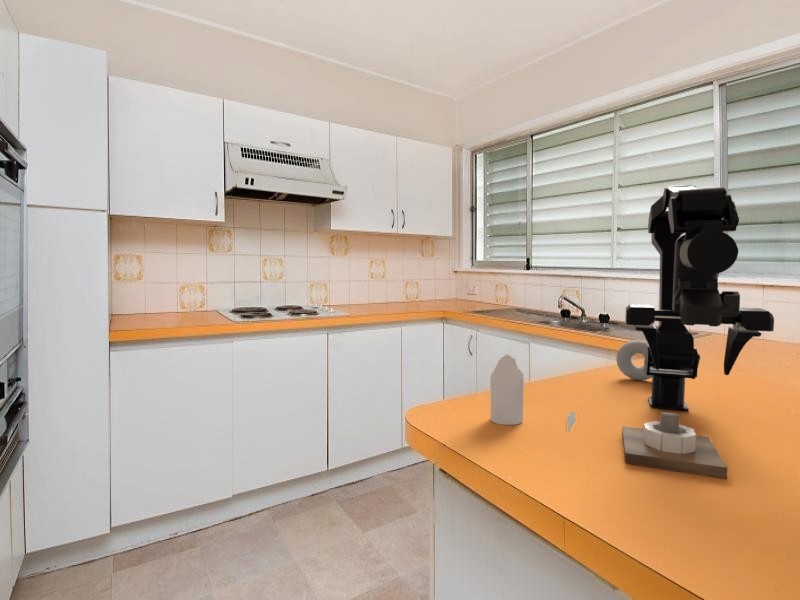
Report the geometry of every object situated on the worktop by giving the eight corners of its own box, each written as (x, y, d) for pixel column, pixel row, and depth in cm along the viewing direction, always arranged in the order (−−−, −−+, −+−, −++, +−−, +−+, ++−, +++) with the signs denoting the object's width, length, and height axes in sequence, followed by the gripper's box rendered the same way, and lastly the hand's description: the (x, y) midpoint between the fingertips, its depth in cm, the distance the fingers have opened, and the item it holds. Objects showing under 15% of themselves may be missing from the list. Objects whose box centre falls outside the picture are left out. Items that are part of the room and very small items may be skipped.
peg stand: (621, 435, 76) (623, 399, 75) (707, 446, 71) (709, 408, 71) (625, 463, 65) (626, 421, 64) (726, 478, 60) (729, 434, 60)
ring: (642, 434, 72) (643, 419, 72) (690, 440, 69) (690, 425, 69) (645, 448, 66) (646, 432, 66) (698, 456, 64) (698, 439, 63)
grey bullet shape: (497, 358, 79) (486, 352, 85) (496, 426, 80) (485, 416, 86) (529, 357, 80) (516, 351, 86) (528, 424, 81) (515, 414, 87)
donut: (614, 379, 114) (615, 339, 114) (616, 376, 117) (617, 337, 116) (660, 384, 109) (662, 342, 108) (661, 381, 112) (663, 340, 111)
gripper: (629, 273, 67) (625, 378, 68) (791, 274, 59) (783, 392, 60) (627, 271, 77) (623, 362, 78) (765, 271, 69) (758, 372, 70)
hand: (690, 371), depth 71 cm, fingers open, 9 cm apart
